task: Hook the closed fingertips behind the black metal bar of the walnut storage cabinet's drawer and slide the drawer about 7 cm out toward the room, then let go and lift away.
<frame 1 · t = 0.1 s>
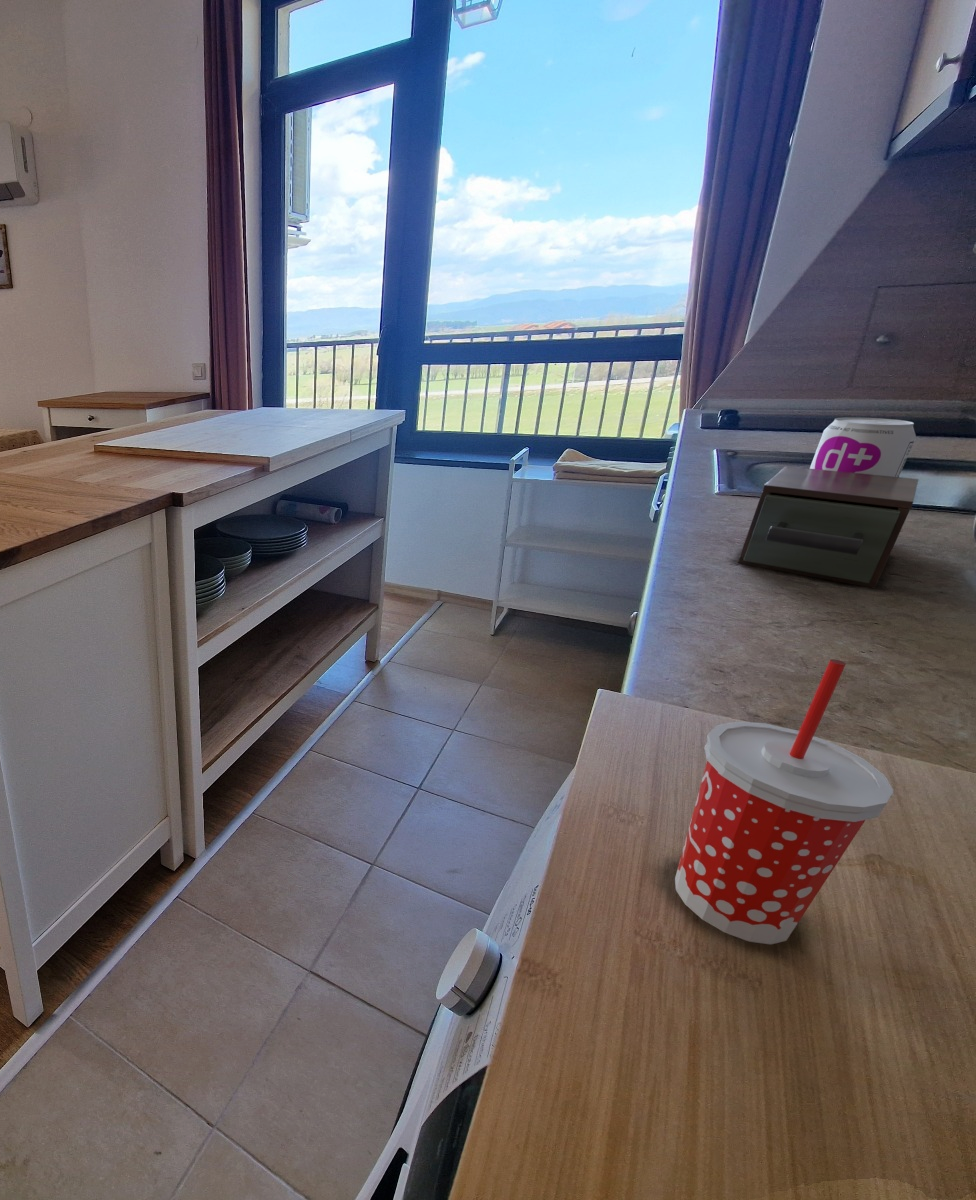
beverage cup: (729, 907, 32), on the countertop
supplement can: (826, 536, 85), on the countertop
drawer: (820, 531, 71), point 5 cm above the countertop, slide at 0.5 cm
cabinet: (811, 560, 76), on the countertop
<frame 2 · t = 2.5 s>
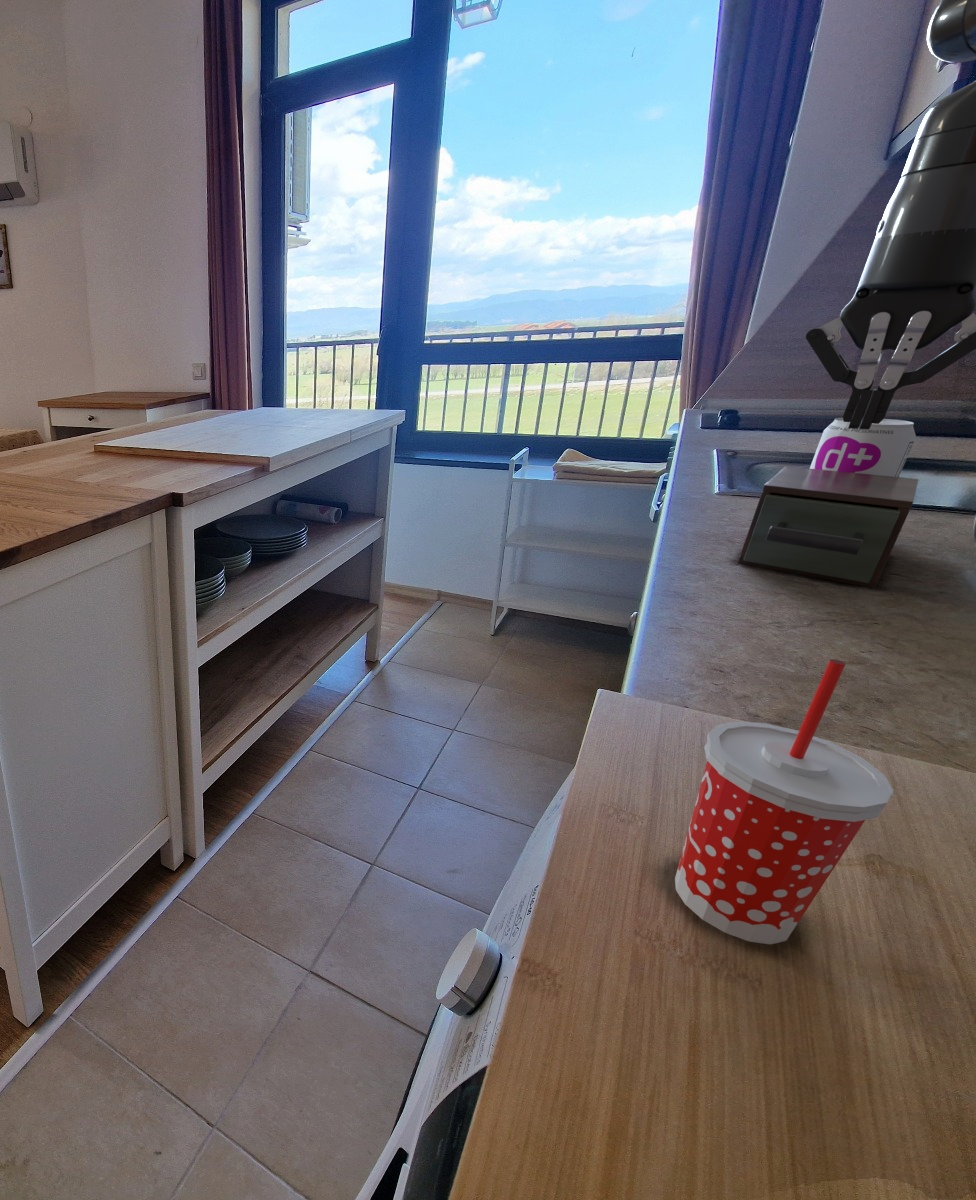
hand: (858, 427, 63), 17 cm above the countertop, tool pointing down, fingers closed
nothing on the countertop moved.
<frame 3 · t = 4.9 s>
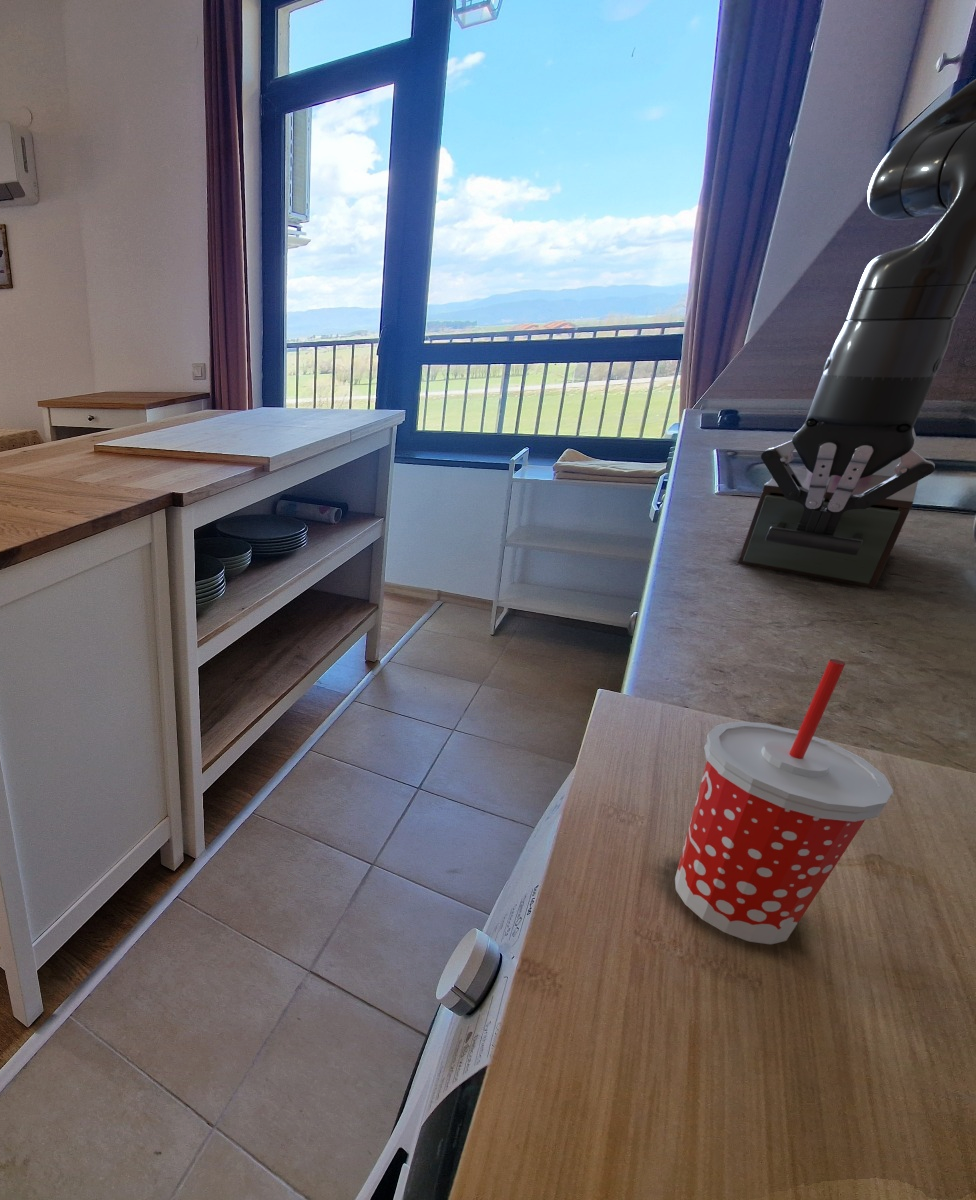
hand: (810, 542, 67), 5 cm above the countertop, tool pointing down, fingers closed
nothing on the countertop moved.
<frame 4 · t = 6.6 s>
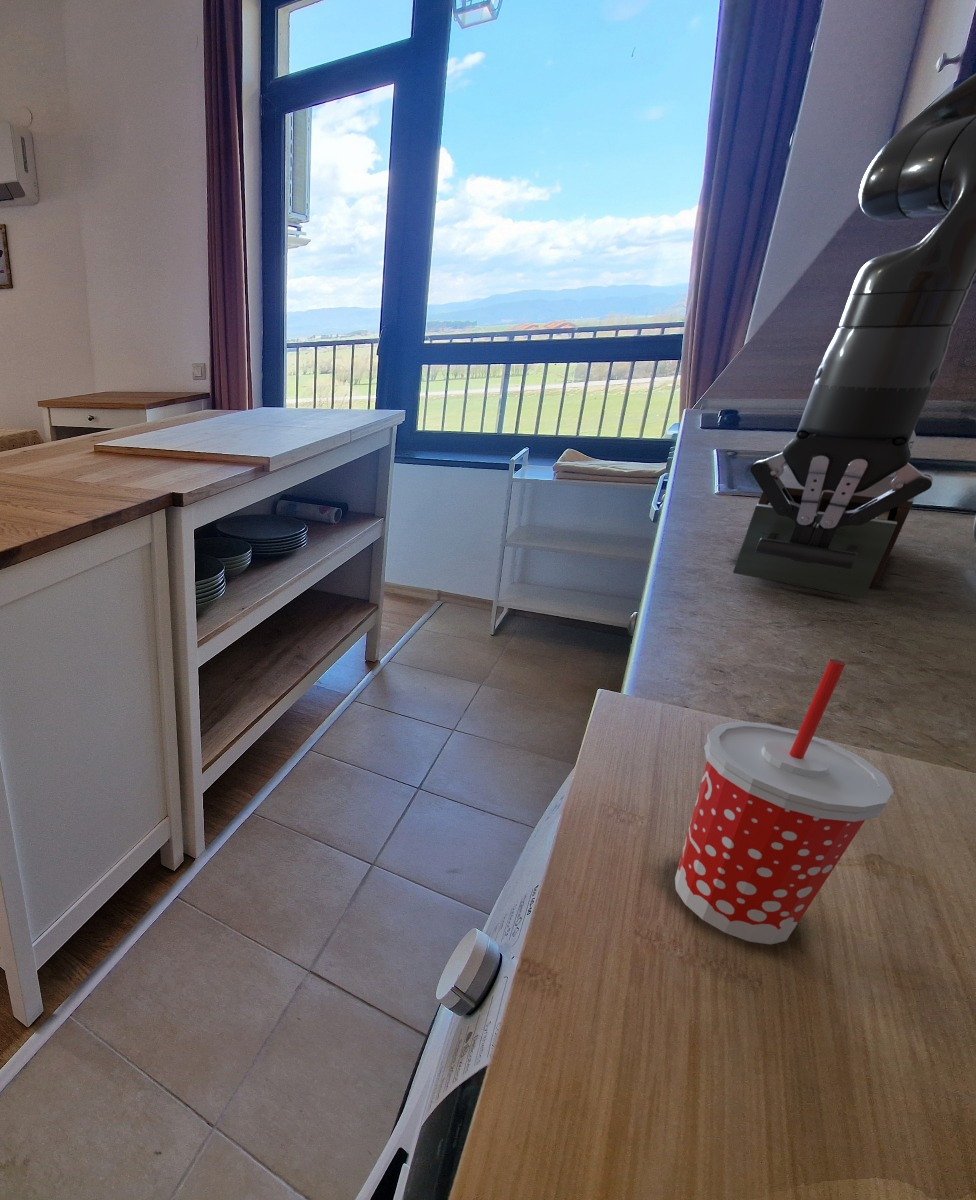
hand: (802, 559, 64), 5 cm above the countertop, tool pointing down, fingers closed
drawer: (813, 542, 68), point 5 cm above the countertop, slide at 6.3 cm, touching gripper
everything else where it was.
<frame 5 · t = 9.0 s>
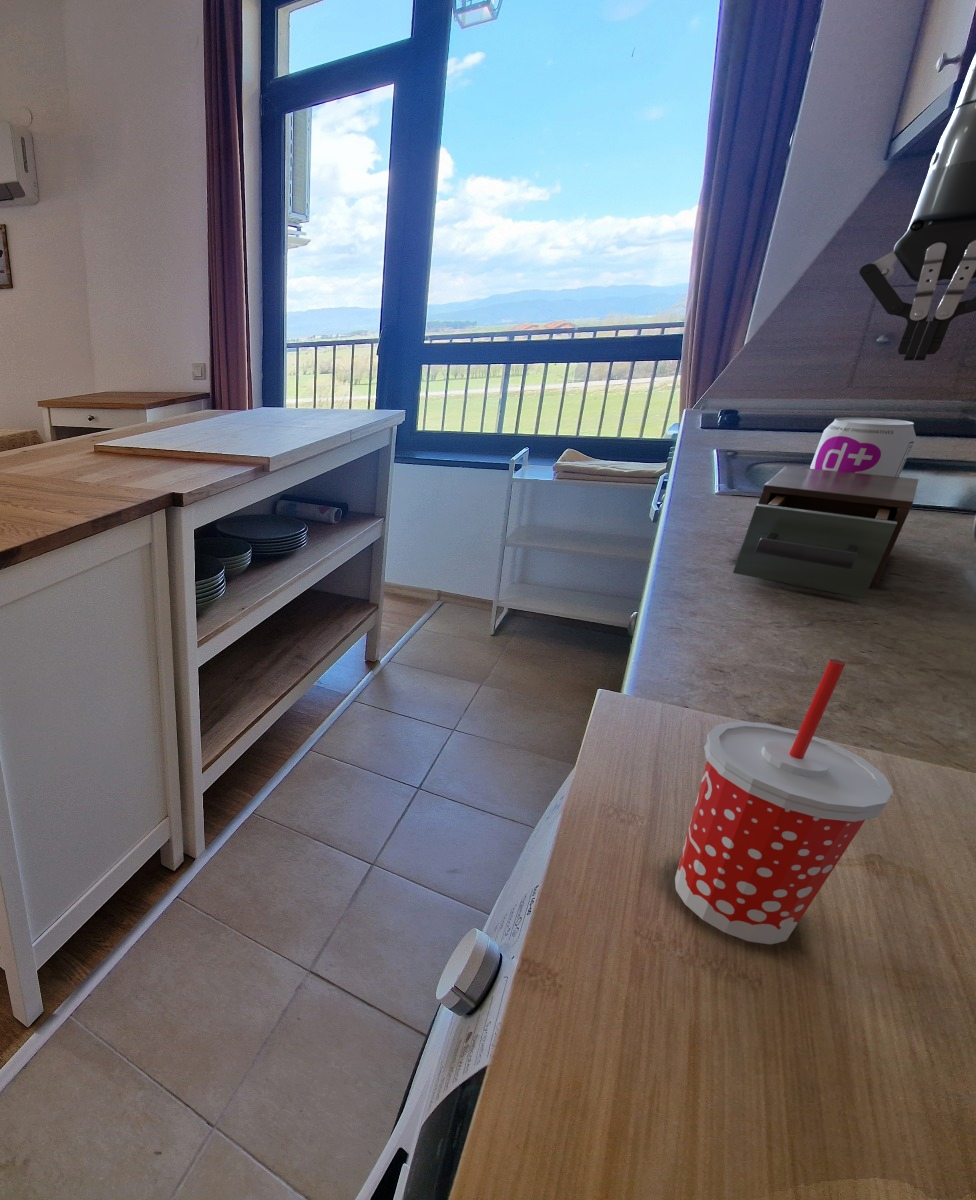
hand: (913, 359, 64), 23 cm above the countertop, tool pointing down, fingers closed
drawer: (813, 542, 68), point 5 cm above the countertop, slide at 6.3 cm
everything else where it was.
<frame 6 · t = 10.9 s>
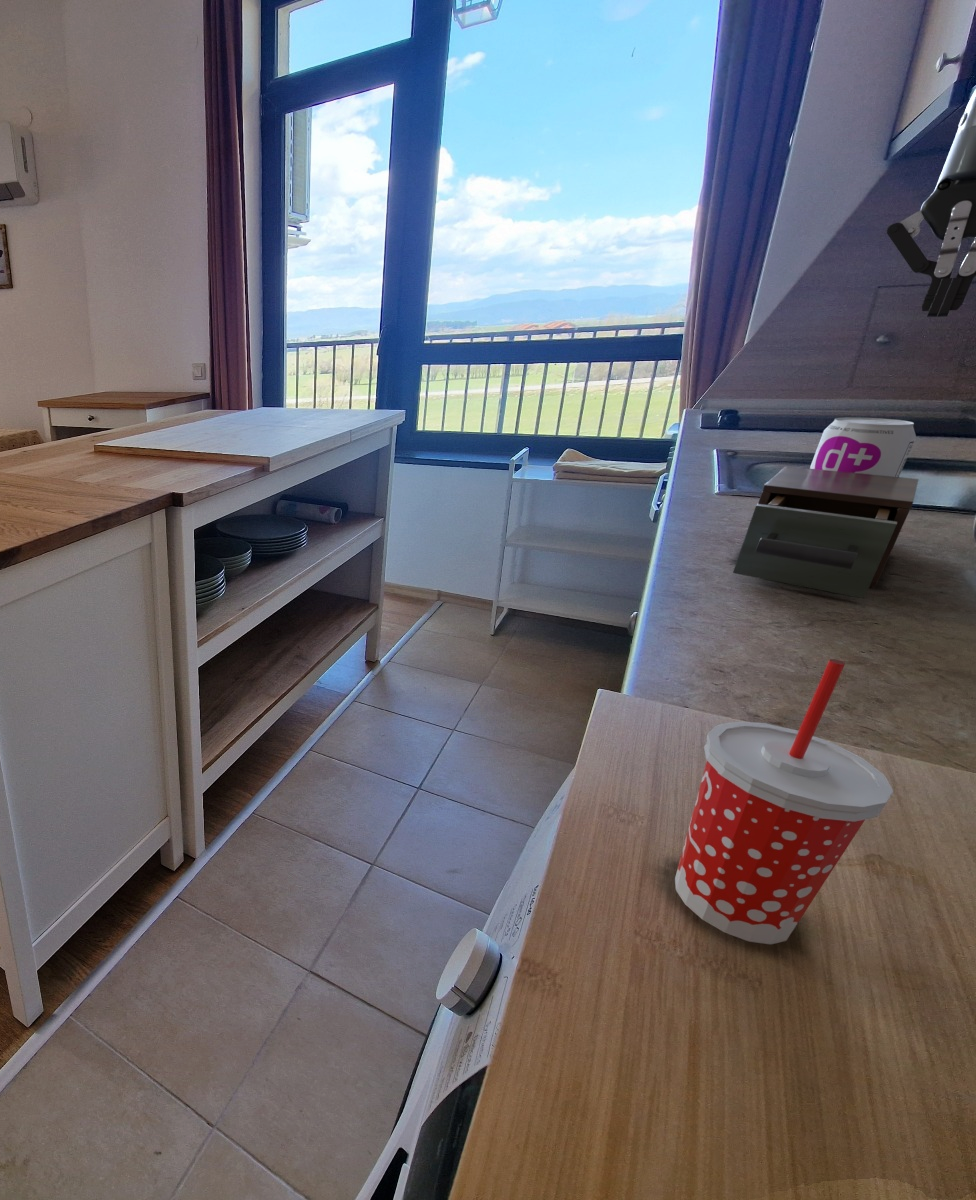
hand: (936, 316, 67), 27 cm above the countertop, tool pointing down, fingers closed
nothing on the countertop moved.
at the end: drawer slide at 6.3 cm; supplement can moved 0.2 cm from its start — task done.
